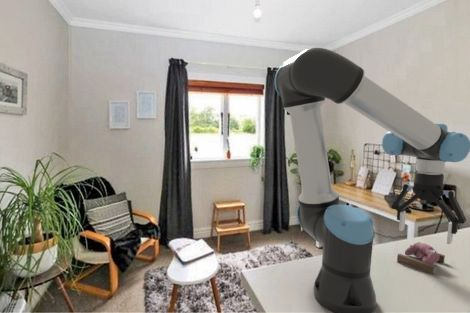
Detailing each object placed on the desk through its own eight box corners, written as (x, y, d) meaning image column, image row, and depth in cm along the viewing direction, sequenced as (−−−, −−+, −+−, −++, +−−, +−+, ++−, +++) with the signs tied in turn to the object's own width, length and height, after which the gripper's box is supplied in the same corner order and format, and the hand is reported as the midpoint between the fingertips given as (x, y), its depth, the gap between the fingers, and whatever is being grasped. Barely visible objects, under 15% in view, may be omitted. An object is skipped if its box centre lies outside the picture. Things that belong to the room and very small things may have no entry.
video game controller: (433, 273, 89) (445, 255, 89) (421, 267, 89) (433, 248, 88) (413, 258, 99) (423, 241, 98) (402, 252, 99) (412, 235, 98)
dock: (432, 274, 86) (433, 266, 86) (397, 261, 94) (397, 254, 93) (444, 262, 94) (444, 255, 93) (410, 251, 101) (411, 244, 101)
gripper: (483, 176, 83) (475, 245, 85) (392, 166, 102) (389, 222, 105) (477, 180, 78) (469, 252, 81) (383, 168, 97) (380, 227, 100)
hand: (424, 236), depth 93 cm, fingers open, 13 cm apart
